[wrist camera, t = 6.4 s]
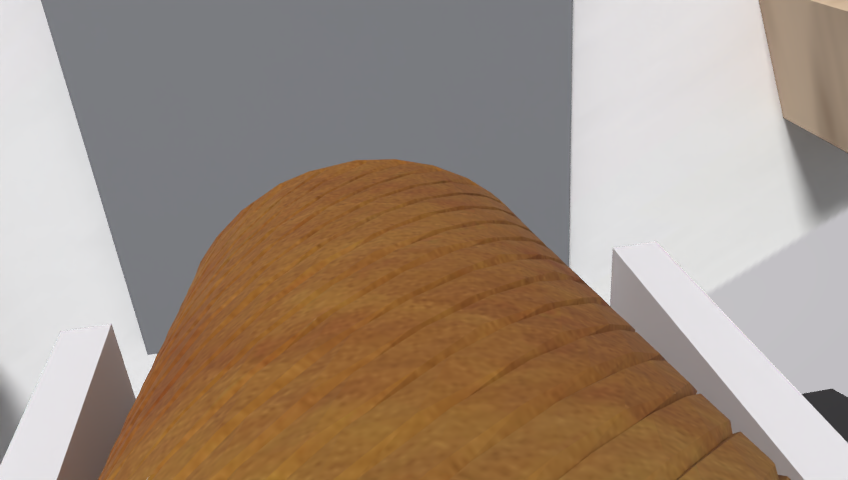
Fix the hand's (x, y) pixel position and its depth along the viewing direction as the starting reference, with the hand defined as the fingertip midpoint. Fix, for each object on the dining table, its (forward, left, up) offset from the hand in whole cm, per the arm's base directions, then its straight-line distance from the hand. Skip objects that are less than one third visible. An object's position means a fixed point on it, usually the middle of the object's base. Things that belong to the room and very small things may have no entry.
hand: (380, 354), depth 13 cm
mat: (0, 0, -13) cm, 13 cm away
